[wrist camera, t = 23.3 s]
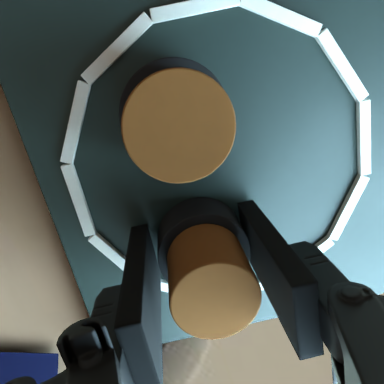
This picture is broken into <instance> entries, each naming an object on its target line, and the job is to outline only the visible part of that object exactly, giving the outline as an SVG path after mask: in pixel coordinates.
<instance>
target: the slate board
mask: <svg viewBox="0 0 384 384" xmlns="http://www.w3.org/2000/svg"><path fill="white" fill-rule="evenodd" d="M165 57H182V58H187V59H191V60H193V61H196V62H198V63H200V64H201V65H203V66H205V67H206V68H207V69H209V70H210V71H211V72H212V73H213V74H214V75H215V76H216V77H217V79H218V80H219V82H220V83H221V85H222V87H223V89H224V90H225V92H226V93H227V95H228V97H229V98H230V100H231V102H232V105H233V108H234V112H235V116H236V134H235V139H234V143H233V146H232V148H231V150H230V153H229V154H228V156H227V158H226V159H225V160H224V162H223V163H222V164H221V165H220V166H219V167H218V168H217V169H216V170H215V171H214V172H212V173H211V174H209V175H208V176H206V177H204V178H202V179H200V180H197V181H194V182H190V183H180V184H175V183H168V182H163V181H160V180H157V179H155V178H153V177H151V176H149V175H148V174H146V173H145V172H143V171H142V170H141V169H140V168H139V167H138V166H137V165H136V164H135V163H134V162H133V160H132V159H131V157H130V156H129V154H128V152H127V150H126V148H125V145H124V143H123V139H122V134H121V127H120V122H119V104H120V98H121V95H122V92H123V90H124V88H125V86H126V84H127V82H128V81H129V79H130V78H131V77H132V76H133V74H134V73H135V72H136V71H138V70H139V69H140V68H141V67H143V66H144V65H146V64H147V63H149V62H151V61H154V60H156V59H160V58H165ZM0 83H1V86H2V89H3V91H4V94H5V96H6V99H7V102H8V104H9V107H10V110H11V112H12V115H13V117H14V120H15V123H16V125H17V128H18V130H19V133H20V136H21V138H22V141H23V143H24V146H25V149H26V151H27V154H28V157H29V159H30V162H31V164H32V167H33V170H34V172H35V175H36V177H37V180H38V183H39V185H40V188H41V191H42V193H43V196H44V198H45V201H46V204H47V206H48V209H49V211H50V214H51V217H52V219H53V222H54V225H55V227H56V230H57V232H58V235H59V238H60V240H61V243H62V245H63V248H64V251H65V253H66V256H67V259H68V261H69V264H70V266H71V269H72V272H73V274H74V277H75V279H76V282H77V285H78V287H79V290H80V293H81V295H82V298H83V300H84V303H85V306H86V308H87V311H88V313H89V316H90V318H91V313H92V310H93V306H94V302H95V299H96V297H97V296H98V294H99V293H100V292H101V291H102V289H103V288H107V287H111V286H115V285H120V284H121V283H122V277H123V271H124V265H125V260H126V254H127V248H128V242H129V236H130V230H131V227H134V226H138V225H142V224H147V225H148V229H149V232H150V236H151V240H152V243H153V247H154V251H155V254H156V258H157V262H158V257H157V252H158V230H159V226H160V223H161V221H162V219H163V217H164V216H165V215H166V213H167V212H168V211H169V210H170V209H171V208H172V207H174V206H175V205H176V204H178V203H180V202H182V201H184V200H187V199H191V198H196V197H207V198H212V199H216V200H218V201H220V202H222V203H224V204H226V205H227V206H228V207H229V208H230V209H231V210H232V211H233V212H234V213H235V215H236V216H237V218H238V220H239V222H240V218H239V211H238V205H237V203H240V202H245V201H249V200H254V202H255V203H256V204H257V205H258V207H259V208H260V209H261V210H262V212H263V213H264V214H265V215H266V217H267V218H268V219H269V220H270V222H271V223H272V224H273V225H274V227H275V228H276V229H277V230H278V232H279V233H280V234H281V235H282V237H283V238H284V239H285V240H286V242H287V243H288V244H293V243H298V242H302V241H307V242H309V243H311V244H313V245H315V246H317V247H318V248H319V249H320V250H321V251H322V252H323V254H324V255H325V256H326V257H327V258H328V259H329V260H330V261H331V262H332V263H333V264H334V265H335V266H336V267H337V268H338V269H339V270H340V271H341V272H342V273H343V274H344V275H345V277H346V278H347V279H348V280H349V281H350V282H356V283H360V284H364V285H365V286H367V287H369V288H371V289H372V290H373V291H374V292H375V293H376V294H377V295H378V294H382V293H384V0H0ZM249 263H250V261H249ZM250 265H251V263H250ZM251 267H252V265H251ZM252 269H253V267H252ZM253 271H254V269H253ZM160 273H161V272H160ZM254 273H255V271H254ZM255 275H256V273H255ZM256 277H257V275H256ZM257 280H258V282H259V284H260V287H261V292H262V300H261V305H260V309H259V311H258V313H257V315H256V317H255V318H254V320H253V321H252V322H251V323H255V322H259V321H264V320H268V319H273V318H277V317H278V316H277V314H276V312H275V310H274V308H273V306H272V305H271V303H270V301H269V299H268V297H267V295H266V293H265V291H264V289H263V287H262V285H261V283H260V281H259V279H258V277H257ZM161 319H162V344H163V343H168V342H172V341H176V340H181V339H185V338H189V337H194V336H191V335H189V334H188V333H186V332H184V331H183V330H182V329H181V328H180V327H179V326H178V325H177V324H176V323H175V321H174V320H173V318H172V316H171V313H170V309H169V293H168V282H167V281H166V280H165V279H164V277H163V276H162V274H161ZM251 323H250V324H251Z"/></svg>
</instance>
